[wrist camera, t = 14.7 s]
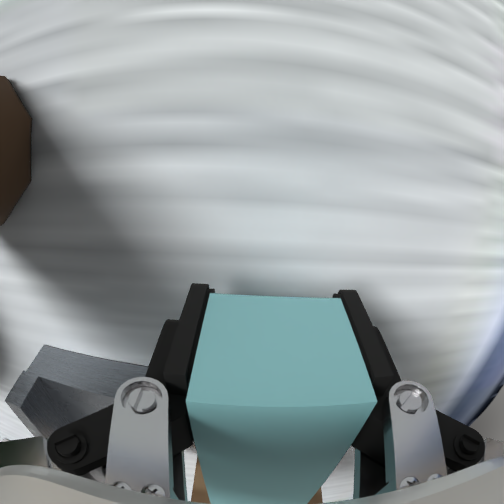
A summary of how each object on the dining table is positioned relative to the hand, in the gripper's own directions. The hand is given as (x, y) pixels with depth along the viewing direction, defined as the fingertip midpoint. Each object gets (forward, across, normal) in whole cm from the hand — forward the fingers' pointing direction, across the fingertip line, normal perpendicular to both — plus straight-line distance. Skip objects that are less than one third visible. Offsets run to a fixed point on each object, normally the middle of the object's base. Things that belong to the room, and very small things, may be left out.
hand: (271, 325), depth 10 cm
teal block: (-3, 0, +4) cm, 5 cm away
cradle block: (+3, +10, +10) cm, 14 cm away
